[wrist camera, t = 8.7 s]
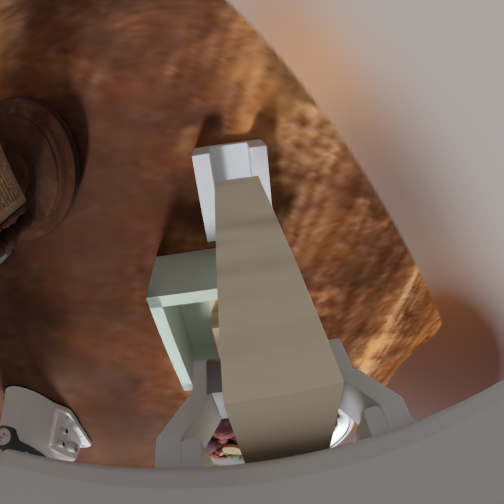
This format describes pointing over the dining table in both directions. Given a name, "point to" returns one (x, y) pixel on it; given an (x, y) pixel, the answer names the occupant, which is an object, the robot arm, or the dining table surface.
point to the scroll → (34, 170)
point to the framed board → (5, 256)
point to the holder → (227, 172)
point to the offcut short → (216, 329)
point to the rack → (185, 308)
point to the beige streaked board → (269, 333)
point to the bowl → (227, 449)
